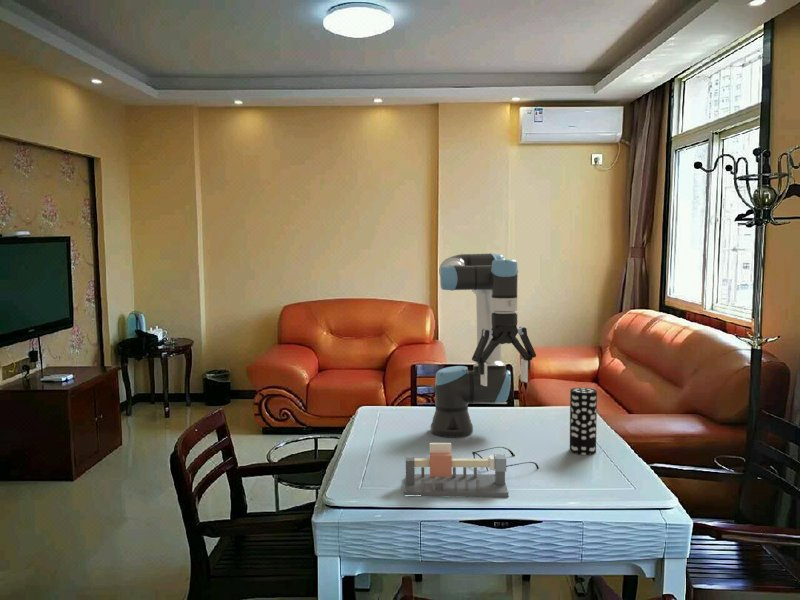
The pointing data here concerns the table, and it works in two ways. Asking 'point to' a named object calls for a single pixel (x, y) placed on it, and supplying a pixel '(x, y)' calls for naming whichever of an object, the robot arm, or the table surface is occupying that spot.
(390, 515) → the table surface
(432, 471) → the banded orange cube
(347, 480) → the table surface
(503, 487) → the cable comb board
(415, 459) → the cream long bar
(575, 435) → the white-spotted black cylinder
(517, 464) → the eyeglasses
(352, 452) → the table surface
